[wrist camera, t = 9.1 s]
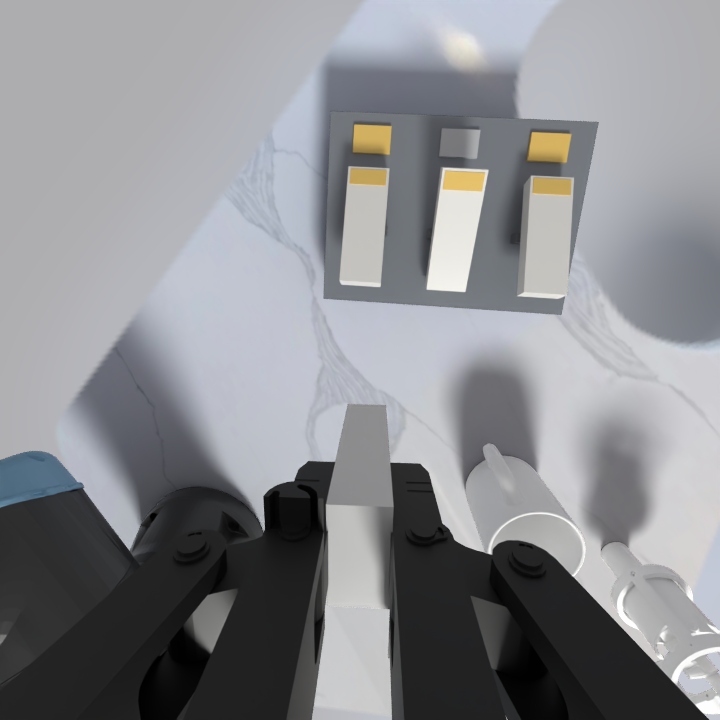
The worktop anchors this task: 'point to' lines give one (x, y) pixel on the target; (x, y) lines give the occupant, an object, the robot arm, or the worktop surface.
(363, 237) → the switch
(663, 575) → the white plastic fitting
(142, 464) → the worktop surface
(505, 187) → the switch unit
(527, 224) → the switch
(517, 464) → the mug
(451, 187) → the switch
